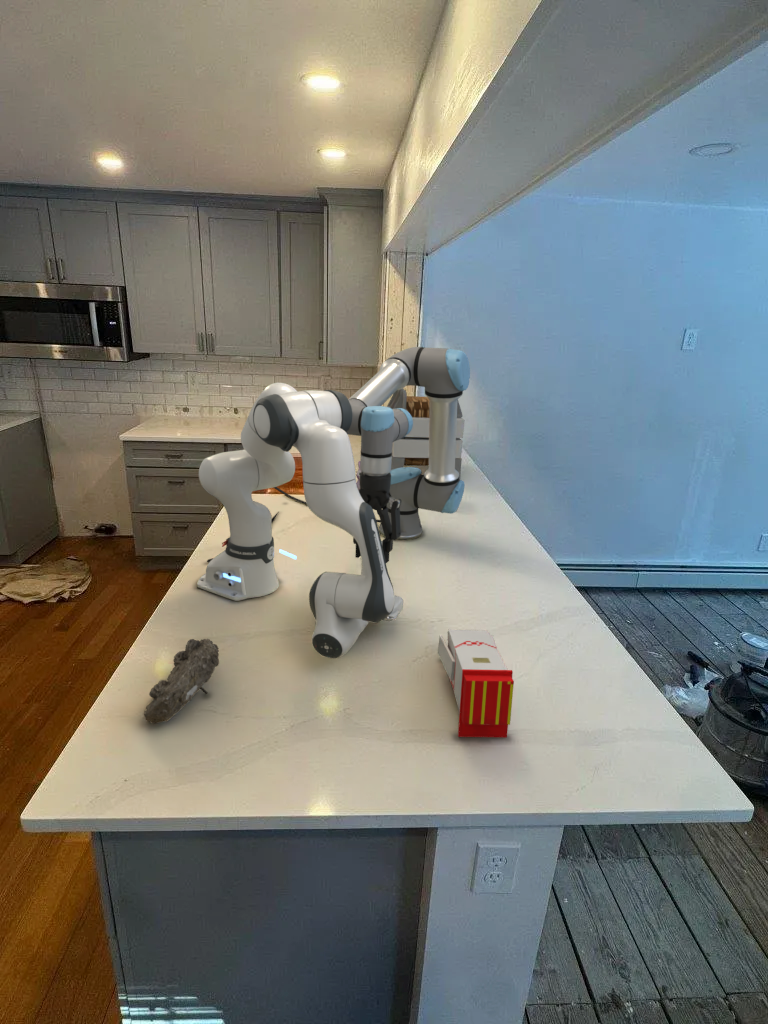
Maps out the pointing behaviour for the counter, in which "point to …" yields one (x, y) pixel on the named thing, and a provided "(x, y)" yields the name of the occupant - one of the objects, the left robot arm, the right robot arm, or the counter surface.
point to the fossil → (183, 680)
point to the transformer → (419, 433)
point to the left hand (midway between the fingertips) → (372, 587)
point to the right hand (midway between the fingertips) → (372, 559)
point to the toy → (478, 682)
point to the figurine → (358, 476)
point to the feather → (274, 517)
